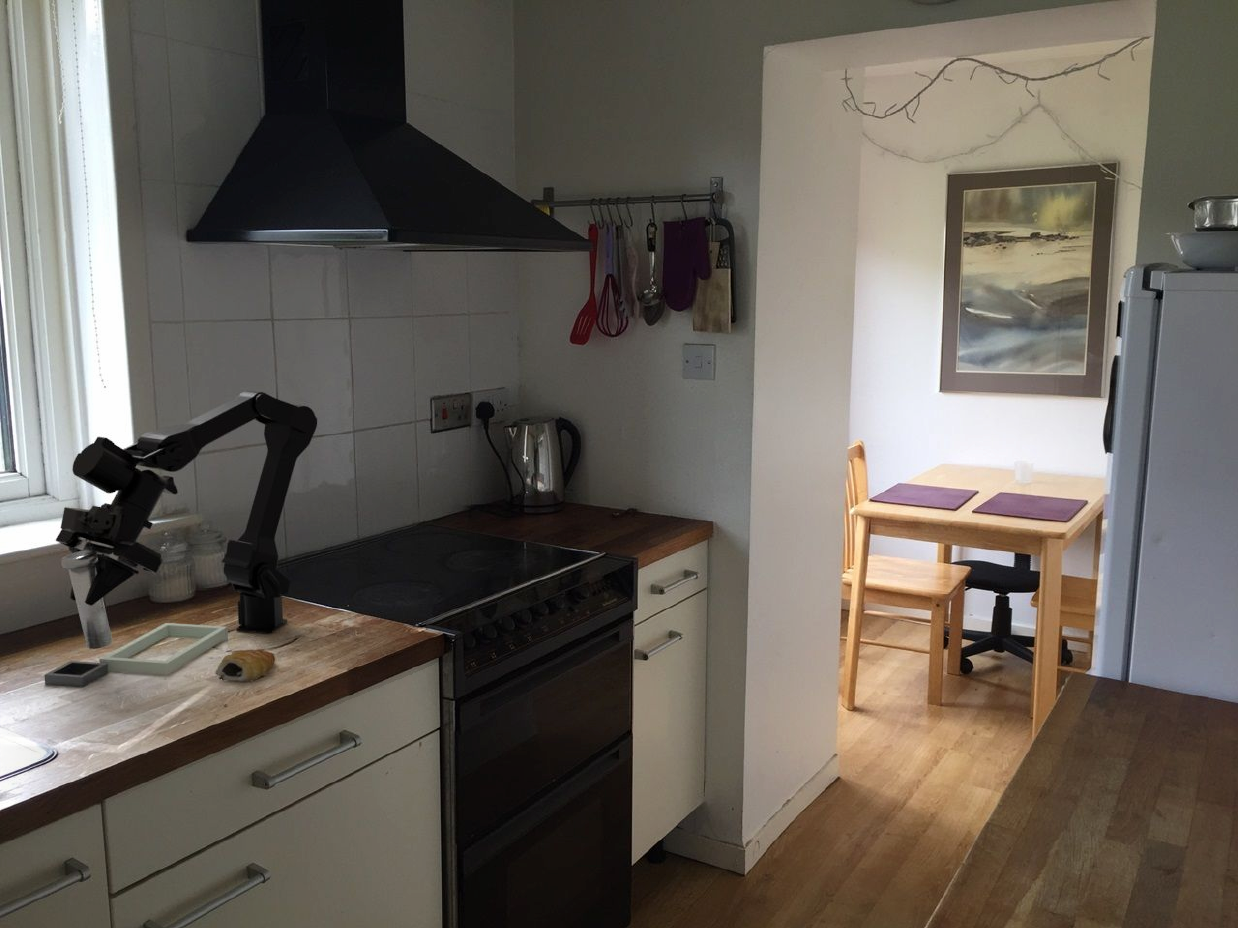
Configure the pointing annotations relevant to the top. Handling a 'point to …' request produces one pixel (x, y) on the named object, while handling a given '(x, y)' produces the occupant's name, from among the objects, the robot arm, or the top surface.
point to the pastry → (245, 665)
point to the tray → (208, 639)
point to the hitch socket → (76, 674)
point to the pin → (81, 582)
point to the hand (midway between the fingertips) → (80, 602)
